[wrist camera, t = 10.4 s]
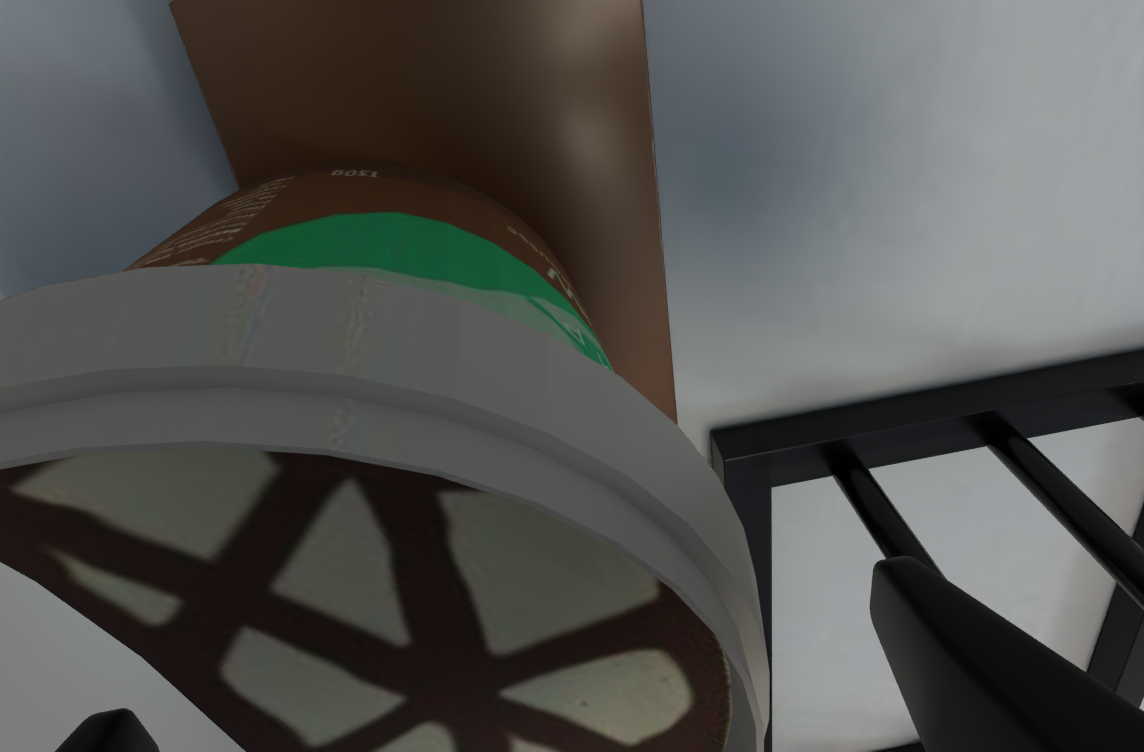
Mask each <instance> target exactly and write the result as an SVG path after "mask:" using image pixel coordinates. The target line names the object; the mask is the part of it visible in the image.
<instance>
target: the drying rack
mask: <svg viewBox="0 0 1144 752" xmlns="http://www.w3.org/2000/svg"><path fill="white" fill-rule="evenodd" d="M1136 417H1139V418H1140V419H1141V420H1143V421H1144V350H1140V351H1135V352H1129V353H1124V354H1119V355H1114V356H1108V357H1103V358H1098V359H1092V360H1087V361H1082V362H1077V363H1071V364H1066V365H1061V366H1055V367H1050V368H1045V369H1040V370H1034V371H1029V372H1024V373H1018V374H1013V375H1008V376H1003V377H997V378H992V379H987V380H981V381H976V382H971V383H966V384H960V385H955V386H950V387H945V388H939V389H934V390H929V391H923V392H918V393H913V394H908V395H902V396H897V397H892V398H886V399H881V400H876V401H871V402H865V403H860V404H855V405H849V406H844V407H839V408H834V409H828V410H823V411H818V412H813V413H807V414H802V415H797V416H791V417H786V418H781V419H776V420H770V421H765V422H760V423H754V424H749V425H744V426H739V427H734V428H728V429H723V430H718V431H713V432H711V448H712V466H713V470H714V472H715V473H716V474H717V475H718V477H719V479H720V481H721V483H722V485H723V487H724V489H725V491H726V493H727V495H728V497H729V499H730V501H731V503H732V505H733V507H734V509H735V511H736V513H737V515H738V517H739V519H740V521H741V523H742V525H743V527H744V531H745V536H746V540H747V544H748V548H749V552H750V556H751V560H752V564H753V568H754V572H755V576H756V583H757V589H758V596H759V603H760V610H761V617H762V624H763V631H764V638H765V644H766V651H767V658H768V665H769V672H770V676H769V722H768V726H767V729H766V733H765V737H764V752H772V504H771V487H777V486H782V485H787V484H792V483H797V482H803V481H808V480H813V479H818V478H823V477H829V476H833V478H834V479H835V481H836V482H837V484H838V485H839V487H840V488H841V490H842V492H843V493H844V495H845V496H846V498H847V499H848V501H849V502H850V504H851V506H852V507H853V509H854V510H855V512H856V513H857V515H858V516H859V518H860V519H861V521H862V523H863V524H864V526H865V527H866V529H867V530H868V532H869V533H870V535H871V537H872V538H873V540H874V541H875V543H876V544H877V546H878V547H879V549H880V550H881V552H882V554H883V555H884V557H885V558H886V559H890V558H895V557H900V556H909V557H912V558H914V559H916V560H918V561H919V562H921V563H922V564H924V565H925V566H927V567H928V568H930V569H931V570H933V571H934V572H936V573H937V574H939V575H940V576H942V577H943V578H945V576H944V575H943V573H942V572H941V571H940V569H939V568H938V566H937V565H936V564H935V562H934V561H933V559H932V558H931V557H930V555H929V554H928V552H927V551H926V550H925V548H924V547H923V545H922V544H921V543H920V541H919V540H918V538H917V537H916V536H915V534H914V533H913V531H912V530H911V529H910V527H909V526H908V524H907V523H906V522H905V520H904V519H903V517H902V516H901V515H900V513H899V512H898V510H897V509H896V508H895V506H894V505H893V503H892V502H891V501H890V499H889V498H888V496H887V495H886V494H885V492H884V491H883V489H882V488H881V487H880V485H879V484H878V482H877V481H876V480H875V478H874V477H873V476H872V474H871V473H870V471H869V470H868V469H870V468H875V467H881V466H886V465H891V464H896V463H901V462H907V461H912V460H917V459H922V458H927V457H933V456H938V455H943V454H948V453H954V452H959V451H964V450H969V449H974V448H980V447H985V446H987V447H988V448H989V449H990V450H991V451H992V452H993V453H994V454H995V456H996V457H997V458H998V459H999V460H1000V461H1001V462H1002V463H1003V464H1004V465H1005V466H1006V467H1007V468H1008V469H1009V470H1010V471H1011V472H1012V473H1013V474H1014V475H1015V476H1016V477H1017V478H1018V479H1019V481H1020V482H1021V483H1022V484H1023V485H1024V486H1025V487H1026V488H1027V489H1028V490H1029V491H1030V492H1031V493H1032V494H1033V495H1034V496H1035V497H1036V498H1037V499H1038V500H1039V501H1040V502H1041V503H1042V504H1043V506H1044V507H1045V508H1046V509H1047V510H1048V511H1049V512H1050V513H1051V514H1052V515H1053V516H1054V517H1055V518H1056V519H1057V520H1058V521H1059V522H1060V523H1061V524H1062V525H1063V526H1064V527H1065V528H1066V529H1067V531H1068V532H1069V533H1070V534H1071V535H1072V536H1073V537H1074V538H1075V539H1076V540H1077V541H1078V542H1079V543H1080V544H1081V545H1082V546H1083V547H1084V548H1085V549H1086V550H1087V551H1088V552H1089V553H1090V554H1091V556H1092V557H1093V558H1094V559H1095V560H1096V561H1097V562H1098V563H1099V564H1100V565H1101V566H1102V567H1103V568H1104V569H1105V570H1106V571H1107V572H1108V573H1109V574H1110V575H1111V576H1112V577H1113V578H1114V579H1115V581H1116V582H1117V583H1118V586H1117V589H1116V592H1115V595H1114V598H1113V601H1112V604H1111V607H1110V610H1109V613H1108V616H1107V619H1106V622H1105V625H1104V628H1103V630H1102V633H1101V636H1100V639H1099V642H1098V645H1097V648H1096V651H1095V654H1094V657H1093V660H1092V663H1091V666H1090V669H1089V672H1088V674H1089V675H1090V676H1092V677H1093V678H1095V679H1096V680H1098V681H1099V682H1101V683H1102V684H1104V685H1105V686H1107V687H1108V688H1110V689H1111V690H1113V691H1114V692H1115V693H1117V694H1118V695H1120V696H1121V697H1123V698H1124V699H1126V700H1127V701H1129V702H1130V703H1132V704H1133V705H1135V706H1136V707H1138V708H1139V707H1140V705H1141V703H1142V700H1143V698H1144V510H1143V513H1142V516H1141V519H1140V522H1139V525H1138V528H1137V531H1136V533H1135V536H1134V539H1132V538H1131V537H1130V536H1129V535H1128V534H1126V533H1125V532H1124V531H1123V530H1122V529H1121V528H1120V527H1119V526H1118V525H1117V524H1116V523H1115V522H1114V521H1113V520H1112V519H1111V518H1110V517H1109V516H1108V515H1107V514H1106V513H1104V512H1103V511H1102V510H1101V509H1100V508H1099V507H1098V506H1097V505H1096V504H1095V503H1094V502H1093V501H1092V500H1091V499H1090V498H1089V497H1088V496H1087V495H1086V494H1085V493H1083V492H1082V491H1081V490H1080V489H1079V488H1078V487H1077V486H1076V485H1075V484H1074V483H1073V482H1072V481H1071V480H1070V479H1069V478H1068V477H1067V476H1066V475H1065V474H1064V473H1063V472H1061V471H1060V470H1059V469H1058V468H1057V467H1056V466H1055V465H1054V464H1053V463H1052V462H1051V461H1050V460H1049V459H1048V458H1047V457H1046V456H1045V455H1044V454H1043V453H1042V452H1041V451H1039V450H1038V449H1037V448H1036V447H1035V446H1034V445H1033V444H1032V443H1031V442H1030V441H1029V440H1028V439H1027V438H1032V437H1037V436H1042V435H1047V434H1052V433H1058V432H1063V431H1068V430H1073V429H1078V428H1084V427H1089V426H1094V425H1099V424H1104V423H1110V422H1115V421H1120V420H1125V419H1131V418H1136ZM945 579H946V578H945ZM946 580H947V579H946ZM882 752H926V750H925V748H924V746H923V744H917V745H912V746H907V747H902V748H897V749H892V750H887V751H882Z"/></svg>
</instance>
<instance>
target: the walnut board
mask: <svg viewBox="0 0 1144 752" xmlns="http://www.w3.org/2000/svg"><path fill="white" fill-rule="evenodd" d="M169 7H170V10H171V12H172V15H173V18H174V20H175V23H176V25H177V28H178V31H179V33H180V36H181V39H182V41H183V44H184V46H185V49H186V52H187V54H188V57H189V60H190V62H191V65H192V67H193V70H194V73H195V75H196V78H197V81H198V83H199V86H200V88H201V91H202V94H203V96H204V99H205V102H206V104H207V107H208V109H209V112H210V115H211V117H212V120H213V123H214V125H215V128H216V130H217V133H218V136H219V138H220V141H221V144H222V146H223V149H224V151H225V154H226V157H227V159H228V162H229V165H230V167H231V170H232V172H233V175H234V178H235V180H236V183H237V186H238V188H239V190H241V189H242V188H244V187H246V186H248V185H249V184H252V183H255V182H258V181H261V180H263V179H266V178H269V177H272V176H275V175H277V174H280V173H283V172H286V171H290V170H295V169H300V168H306V167H311V166H317V165H322V164H327V163H357V162H372V163H380V164H389V165H398V166H406V167H411V168H415V169H419V170H423V171H426V172H430V173H434V174H437V175H441V176H445V177H448V178H450V179H453V180H455V181H457V182H459V183H462V184H464V185H466V186H468V187H471V188H473V189H475V190H477V191H480V192H482V193H484V194H485V195H487V196H488V197H490V198H492V199H493V200H495V201H496V202H498V203H499V204H501V205H502V206H504V207H505V208H507V209H509V210H510V211H512V212H513V213H515V214H516V215H517V216H518V217H519V218H520V219H521V220H522V221H523V222H525V223H526V224H527V225H528V226H529V227H530V228H531V229H532V230H533V231H535V232H536V233H537V234H538V235H539V236H540V237H541V238H542V240H543V241H544V242H545V243H546V245H547V246H548V247H549V248H550V250H551V251H552V252H553V254H554V255H555V256H556V257H557V259H558V260H559V261H560V262H561V264H562V266H563V268H564V270H565V272H566V273H567V275H568V277H569V279H570V281H571V283H572V285H573V287H574V288H575V290H576V292H577V294H578V297H579V299H580V301H581V303H582V305H583V307H584V309H585V311H586V313H587V316H588V318H589V320H590V322H591V324H592V326H593V328H594V330H595V332H596V335H597V337H598V339H599V341H600V343H601V345H602V347H603V349H604V351H605V354H606V356H607V358H608V360H609V362H610V364H611V366H612V368H613V370H614V372H615V374H617V375H619V376H620V377H622V378H623V379H624V380H625V381H626V382H628V383H629V384H630V385H631V386H632V387H633V388H635V389H636V390H637V391H638V392H639V393H640V394H642V395H643V396H644V397H645V398H646V399H647V400H649V401H650V402H651V403H652V404H653V405H654V406H656V407H657V408H658V409H659V410H660V411H661V412H663V413H664V414H665V415H666V416H667V417H668V418H670V419H671V420H672V421H673V422H674V423H675V424H677V413H676V400H675V388H674V376H673V364H672V352H671V340H670V328H669V316H668V304H667V292H666V279H665V267H664V255H663V243H662V231H661V219H660V207H659V195H658V183H657V170H656V158H655V146H654V134H653V122H652V110H651V98H650V86H649V74H648V62H647V49H646V37H645V25H644V13H643V1H642V0H173V1H171V2H170V3H169Z"/></svg>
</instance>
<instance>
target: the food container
mask: <svg viewBox="0 0 1144 752" xmlns="http://www.w3.org/2000/svg"><path fill="white" fill-rule="evenodd" d="M0 562H2V563H3V564H5V565H7V566H9V567H11V568H13V569H14V570H16V571H18V572H20V573H21V574H23V575H25V576H27V577H28V578H30V579H32V580H34V581H36V582H37V583H39V584H40V585H41V586H43V587H44V588H46V589H47V590H48V591H50V592H51V593H53V594H54V595H55V596H57V597H58V598H60V599H61V600H62V601H64V602H65V603H67V604H68V605H69V606H71V607H72V608H74V609H75V610H77V611H78V612H79V613H81V614H82V615H83V616H85V617H86V618H88V619H89V620H90V621H92V622H93V623H95V624H96V625H97V626H99V627H100V628H102V629H103V630H104V631H106V632H107V633H109V634H110V635H112V636H113V637H114V638H116V639H117V640H118V641H120V642H121V643H123V644H124V645H126V646H127V647H128V648H130V649H131V650H132V651H134V652H135V653H137V654H138V655H140V656H141V657H142V658H143V659H144V660H146V661H147V662H148V663H149V664H150V665H151V666H152V667H153V668H154V669H155V670H157V671H158V672H159V673H160V674H161V675H162V676H163V677H164V678H165V679H166V680H168V681H169V682H170V683H171V684H172V685H173V686H174V687H175V688H176V689H178V690H179V691H180V692H181V693H182V694H183V695H184V696H185V697H186V698H187V699H188V700H190V701H191V702H192V703H193V704H194V705H195V706H196V707H197V708H198V709H199V710H201V711H202V712H203V713H204V714H205V715H206V716H207V717H208V718H209V719H210V720H212V721H213V722H214V723H215V724H216V725H217V726H218V727H220V729H222V730H223V731H224V732H225V733H226V734H227V735H228V736H229V737H230V738H232V739H233V740H234V741H235V742H236V743H237V744H238V745H239V746H240V747H241V748H242V749H244V750H245V751H246V752H764V737H765V733H766V729H767V726H768V722H769V676H770V672H769V665H768V658H767V651H766V644H765V638H764V631H763V624H762V617H761V610H760V603H759V596H758V589H757V583H756V576H755V572H754V568H753V564H752V560H751V556H750V552H749V548H748V544H747V540H746V536H745V531H744V527H743V525H742V523H741V521H740V519H739V517H738V515H737V513H736V511H735V509H734V507H733V505H732V503H731V501H730V499H729V497H728V495H727V493H726V491H725V489H724V487H723V485H722V483H721V481H720V479H719V477H718V475H717V474H716V473H715V472H714V470H713V469H712V468H711V467H710V465H709V464H708V463H707V462H706V460H705V459H704V458H703V457H702V455H701V454H700V453H699V452H698V450H697V449H696V448H695V447H694V445H693V444H692V443H691V442H690V440H689V439H688V438H687V437H686V435H685V434H684V433H683V432H682V430H681V429H680V428H679V427H678V425H677V424H675V423H674V422H673V421H672V420H671V419H670V418H668V417H667V416H666V415H665V414H664V413H663V412H661V411H660V410H659V409H658V408H657V407H656V406H654V405H653V404H652V403H651V402H650V401H649V400H647V399H646V398H645V397H644V396H643V395H642V394H640V393H639V392H638V391H637V390H636V389H635V388H633V387H632V386H631V385H630V384H629V383H628V382H626V381H625V380H624V379H623V378H622V377H620V376H619V375H617V374H615V372H614V370H613V368H612V366H611V364H610V362H609V360H608V358H607V356H606V354H605V351H604V349H603V347H602V345H601V343H600V341H599V339H598V337H597V335H596V332H595V330H594V328H593V326H592V324H591V322H590V320H589V318H588V316H587V313H586V311H585V309H584V307H583V305H582V303H581V301H580V299H579V297H578V294H577V292H576V290H575V288H574V287H573V285H572V283H571V281H570V279H569V277H568V275H567V273H566V272H565V270H564V268H563V266H562V264H561V262H560V261H559V260H558V259H557V257H556V256H555V255H554V254H553V252H552V251H551V250H550V248H549V247H548V246H547V245H546V243H545V242H544V241H543V240H542V238H541V237H540V236H539V235H538V234H537V233H536V232H535V231H533V230H532V229H531V228H530V227H529V226H528V225H527V224H526V223H525V222H523V221H522V220H521V219H520V218H519V217H518V216H517V215H516V214H515V213H513V212H512V211H510V210H509V209H507V208H505V207H504V206H502V205H501V204H499V203H498V202H496V201H495V200H493V199H492V198H490V197H488V196H487V195H485V194H484V193H482V192H480V191H477V190H475V189H473V188H471V187H468V186H466V185H464V184H462V183H459V182H457V181H455V180H453V179H450V178H448V177H445V176H441V175H437V174H434V173H430V172H426V171H423V170H419V169H415V168H411V167H406V166H398V165H389V164H380V163H372V162H357V163H327V164H322V165H317V166H311V167H306V168H300V169H295V170H290V171H286V172H283V173H280V174H277V175H275V176H272V177H269V178H266V179H263V180H261V181H258V182H255V183H252V184H249V185H248V186H246V187H244V188H242V189H241V190H239V191H237V192H235V193H233V194H232V195H230V196H228V197H226V198H225V199H223V200H221V201H219V202H217V203H216V204H214V205H212V206H211V207H210V208H208V209H207V210H205V211H204V212H203V213H201V214H200V215H199V216H197V217H196V218H195V219H193V220H192V221H190V222H189V223H188V224H186V225H185V226H184V227H182V228H181V229H180V230H178V231H177V232H175V233H174V234H173V235H171V236H170V237H169V238H167V239H166V240H165V241H163V242H162V243H160V244H159V245H158V246H156V247H155V248H154V249H152V250H151V251H150V252H148V253H147V254H145V255H144V256H143V257H141V258H140V259H139V260H137V261H136V262H134V263H133V264H132V265H130V266H129V267H128V268H126V269H125V270H124V271H122V272H118V273H113V274H107V275H102V276H96V277H91V278H85V279H79V280H74V281H68V282H63V283H57V284H52V285H46V286H41V287H38V288H35V289H32V290H29V291H26V292H24V293H21V294H18V295H15V296H12V297H9V298H6V299H3V300H1V301H0Z"/></svg>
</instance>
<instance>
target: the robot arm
mask: <svg viewBox="0 0 1144 752" xmlns="http://www.w3.org/2000/svg"><path fill="white" fill-rule="evenodd" d="M870 614H871V619H872V622H873V625H874V628H875V631H876V633H877V635H878V638H879V640H880V643H881V645H882V648H883V650H884V652H885V655H886V657H887V660H888V662H889V665H890V667H891V669H892V672H893V674H894V677H895V679H896V682H897V684H898V686H899V689H900V691H901V694H902V696H903V699H904V701H905V703H906V706H907V708H908V711H909V713H910V716H911V718H912V720H913V723H914V725H915V728H916V730H917V732H918V734H919V737H920V739H921V741H922V744H923V746H924V748H925V750H926V752H1144V711H1142V710H1141V709H1139V708H1138V707H1136V706H1135V705H1133V704H1132V703H1130V702H1129V701H1127V700H1126V699H1124V698H1123V697H1121V696H1120V695H1118V694H1117V693H1115V692H1114V691H1113V690H1111V689H1110V688H1108V687H1107V686H1105V685H1104V684H1102V683H1101V682H1099V681H1098V680H1096V679H1095V678H1093V677H1092V676H1090V675H1089V674H1087V673H1086V672H1084V671H1083V670H1081V669H1080V668H1078V667H1077V666H1075V665H1074V664H1072V663H1071V662H1069V661H1068V660H1066V659H1065V658H1063V657H1062V656H1060V655H1059V654H1057V653H1056V652H1054V651H1053V650H1051V649H1050V648H1048V647H1047V646H1045V645H1044V644H1042V643H1041V642H1039V641H1038V640H1036V639H1035V638H1033V637H1032V636H1030V635H1029V634H1027V633H1026V632H1024V631H1023V630H1021V629H1020V628H1018V627H1017V626H1015V625H1014V624H1012V623H1011V622H1009V621H1008V620H1006V619H1005V618H1003V617H1002V616H1000V615H999V614H997V613H996V612H994V611H993V610H991V609H990V608H988V607H987V606H985V605H984V604H982V603H981V602H979V601H978V600H976V599H975V598H973V597H972V596H970V595H969V594H967V593H966V592H964V591H963V590H961V589H960V588H958V587H957V586H955V585H954V584H952V583H951V582H949V581H948V580H946V579H945V578H943V577H942V576H940V575H939V574H937V573H936V572H934V571H933V570H931V569H930V568H928V567H927V566H925V565H924V564H922V563H921V562H919V561H918V560H916V559H914V558H912V557H909V556H900V557H895V558H890V559H885V560H880V561H878V562H877V563H876V564H875V566H874V569H873V577H872V587H871V598H870ZM55 752H160V751H159V748H158V746H157V744H156V743H155V741H154V740H153V739H152V737H151V736H150V735H149V733H148V732H147V731H146V729H145V728H144V726H143V725H142V724H141V722H140V721H139V719H138V718H137V717H136V716H135V714H134V713H133V712H132V711H130V710H128V709H126V708H125V709H124V708H122V709H116V710H111V711H106V712H100V713H97V714H94V715H91V716H90V717H88V718H87V719H85V720H84V721H83V722H82V723H81V724H80V725H79V726H78V727H77V728H76V730H75V731H74V732H73V733H72V734H71V735H70V736H69V737H68V738H67V739H66V740H65V741H64V742H63V743H62V744H61V745H60V747H59V748H58V749H57V750H56V751H55Z"/></svg>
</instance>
